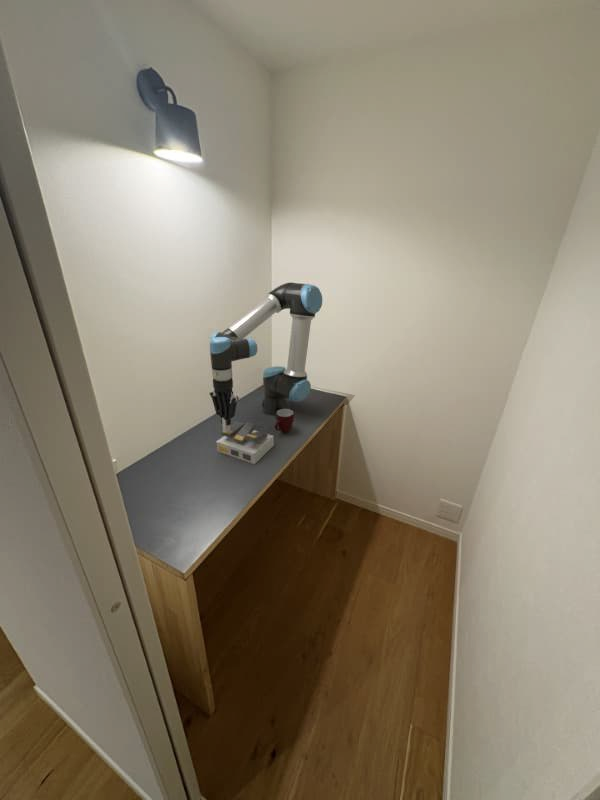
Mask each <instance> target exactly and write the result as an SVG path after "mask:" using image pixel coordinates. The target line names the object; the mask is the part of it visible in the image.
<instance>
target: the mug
mask: <svg viewBox="0 0 600 800" xmlns="http://www.w3.org/2000/svg"><path fill="white" fill-rule="evenodd" d="M275 416H276V417H275V418H276V419H275V420H276V422H275V425H274V429H275V430H276V431H278V432H281V433H282V434H288V433H290V431H291V430H292V428H293V423H294V418H295V413H294V411H293V409H290V408H289V409H280V410H278V411H277V412H276V415H275Z"/></svg>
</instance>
